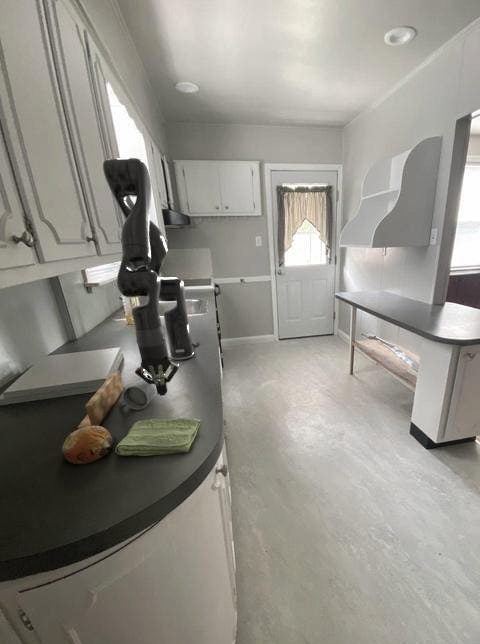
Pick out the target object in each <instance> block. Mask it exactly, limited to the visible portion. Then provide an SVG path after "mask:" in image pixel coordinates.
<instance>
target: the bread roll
mask: <svg viewBox="0 0 480 644" xmlns="http://www.w3.org/2000/svg"><path fill="white" fill-rule="evenodd" d="M113 441H114V439H113V437H112V434H111V433H110V431H109V430H108V429H106V428H105V427H103V426H100V425H99V426H87V427H83V428H80V429H78V428H77V429H76V430H74V431H73V432H71V433H70V434H68V436H67V437H66V439H65V440H64V442H63V444H62V448H61V452H62V454H63V456H64V458H65V459H66V460H67V461H68V462H69V463H72V464H75V465H85V464H89V463H92V462H93V463H94V462H95V461H97V460H99V459H102V458H103V457H104V456H106V455H108V453H109V452H110V451H111V449H112V447H113Z"/></svg>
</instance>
